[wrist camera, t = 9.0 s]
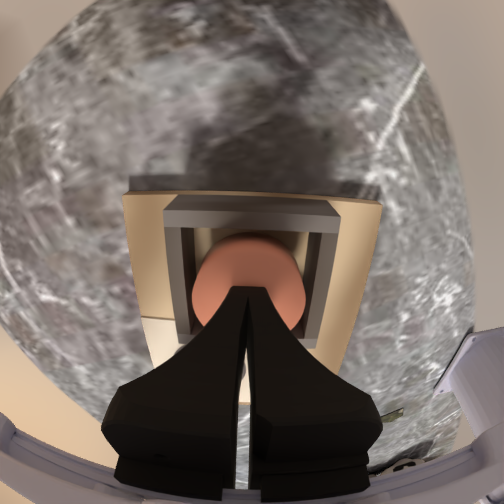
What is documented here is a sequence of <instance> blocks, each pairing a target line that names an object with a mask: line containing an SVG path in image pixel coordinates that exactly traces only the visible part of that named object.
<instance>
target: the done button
mask: <svg viewBox="0 0 504 504" xmlns="http://www.w3.org/2000/svg"><path fill="white" fill-rule="evenodd" d="M232 286H254V287H265V288H266V289H267V291H268V294H269V296H270V298H271V300H272V302H273V304H274V306H275V308H276V309H277V311H278V313H279V314H280V316H281V318H282V319H283V321H284V322H285V324H286V325H287V326H288V328H289V329H290V330H291V329H292V328H294V327H295V325H296V324H297V323H298V321H299V320H300V318H301V316H302V314H303V312H304V308H305V301H306V297H305V290H304V286H303V282H302V279H301V275H300V271H299V268H298V264H297V261H296V259H295V257H294V255H293V254H292V252H291V251H290V250H289V249H288V247H286V246H285V245H284V244H283V243H282V242H280V241H279V240H277V239H275V238H273V237H271V236H269V235H266V234H262V233H257V232H242V233H236V234H232V235H229V236H227V237H225V238H223V239H221V240H219V241H218V242H217V243H215V244H214V245H213V246H212V247H211V248H210V249H209V250H208V252H207V253H206V255H205V257H204V259H203V261H202V264H201V267H200V269H199V272H198V275H197V278H196V281H195V284H194V287H193V291H192V304H193V308H194V311H195V314H196V316H197V318H198V319H199V321H200V322H201V324H202V325H203V326H205V325H206V324H207V322H208V321H209V320H210V319H211V318H212V316H213V315H214V314H215V312H216V311H217V309H218V308H219V306H220V305H221V303H222V302H223V300H224V299H225V297H226V295H227V293H228V291H229V289H230V288H231V287H232ZM247 316H248V315H247Z"/></svg>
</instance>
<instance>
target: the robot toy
mask: <svg viewBox="0 0 504 504" xmlns="http://www.w3.org/2000/svg"><path fill="white" fill-rule="evenodd" d="M422 463H425V461H424V460H421V459H413V460H412V459H409V458H404V459H401V460H399V461H397V462H396V463H395V464H394V466H391V467H390V468H388V469H386V470H384V471H383V472H382V473H381V475H385V474H389V473H393V472H396V471H400V470H403V469H407V468H410V467H413V466H416V465H419V464H422ZM381 475H380V476H381ZM368 476H369V478H372V477H377V476H376V475H374V474H372V475H368Z"/></svg>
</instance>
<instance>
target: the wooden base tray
mask: <svg viewBox="0 0 504 504" xmlns="http://www.w3.org/2000/svg"><path fill="white" fill-rule="evenodd" d="M122 199H123V209H124V218H125V226H126V234H127V241H128V248H129V254H130V260H131V266H132V272H133V278H134V283H135V288H136V293H137V298H138V303H139V308H140V312H141V320H142V324H143V328H144V332H145V336H146V340H147V344H148V348H149V352H150V355H151V359H152V362H153V366H154V369H155V368H156V367H158V366H159V365H161V364H162V363H164V362H165V361H167V360H168V359H170V358H171V357H172V356H173V355H175V354H176V353H177V352H178V351H180V350H181V349H182V348H183V347H184V346H185V345H187V344H188V343H189V342H190V341H191V340H192V339H193V338H194V337H195V336H196V335H197V334H198V333H199V332H200V331H201V330H202V328H203V327H204V326H203V325H202V324H201V322H200V321H199V319H198V318H197V316H196V314H195V311H194V308H193V304H192V291H193V287H194V284H195V281H196V278H197V275H198V272H199V269H200V267H201V264H202V261H203V259H204V257H205V255H206V253H207V252H208V250H209V249H210V248H211V247H212V246H213V245H214V244H215V243H217V242H218V241H219V240H221V239H223V238H225V237H227V236H229V235H232V234H236V233H242V232H257V233H262V234H266V235H269V236H271V237H273V238H275V239H277V240H279V241H280V242H282V243H283V244H284V245H285V246H286V247H288V249H289V250H290V251H291V252H292V254H293V255H294V257H295V259H296V261H297V264H298V268H299V271H300V275H301V279H302V282H303V286H304V290H305V297H306V301H305V308H304V312H303V314H302V316H301V318H300V320H299V321H298V323H297V324H296V325H295V327H294V328H292V329H291V332H292V333H293V334H294V336H295V337H296V338H297V339H298V340H299V342H300V343H301V344H302V345H303V346H304V347H305V348H306V349H307V350H308V351H309V352H310V353H311V354H312V355H313V356H314V357H315V358H316V359H317V360H318V361H319V362H321V363H322V364H323V365H324V366H325V367H327V368H328V369H329V370H330V371H332V372H333V373H334V374H336V375H337V374H338V371H339V369H340V366H341V363H342V360H343V357H344V354H345V352H346V349H347V346H348V343H349V340H350V336H351V333H352V330H353V327H354V324H355V320H356V317H357V314H358V310H359V307H360V303H361V300H362V296H363V292H364V289H365V285H366V281H367V277H368V273H369V269H370V265H371V261H372V256H373V252H374V247H375V243H376V238H377V233H378V228H379V223H380V217H381V212H382V206H383V205H382V204H380V203H379V202H378V201H373V200H364V199H353V198H342V197H331V196H318V195H303V194H287V193H267V192H242V191H128V192H127V193H125V194H124V195H122ZM239 404H244V405H250V388H249V376H248V363H247V350H246V354H245V361H244V367H243V374H242V381H241V387H240V394H239Z"/></svg>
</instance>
